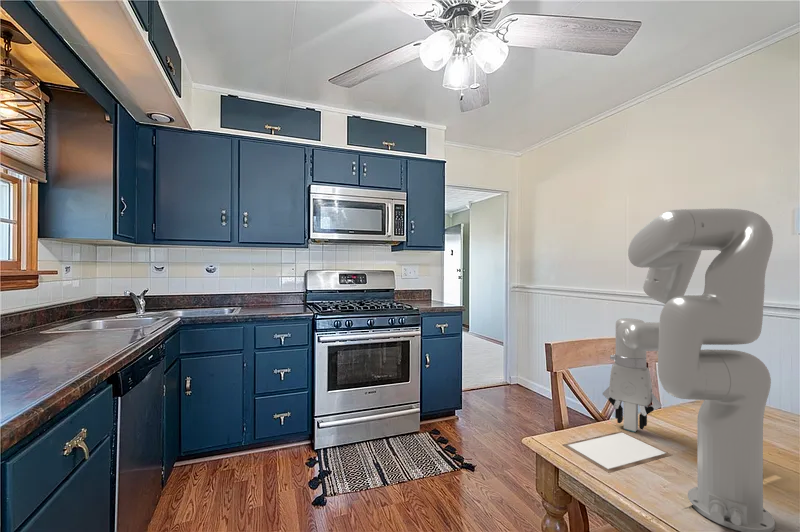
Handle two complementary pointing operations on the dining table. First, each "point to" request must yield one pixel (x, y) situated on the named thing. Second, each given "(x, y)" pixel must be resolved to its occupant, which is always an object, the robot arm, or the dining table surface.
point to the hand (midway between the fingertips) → (630, 424)
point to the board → (620, 466)
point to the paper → (616, 450)
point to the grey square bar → (630, 417)
